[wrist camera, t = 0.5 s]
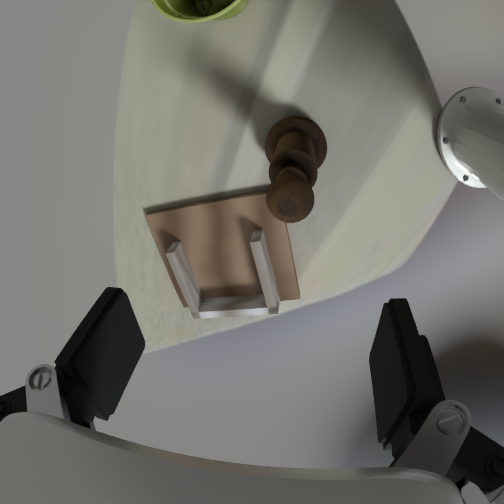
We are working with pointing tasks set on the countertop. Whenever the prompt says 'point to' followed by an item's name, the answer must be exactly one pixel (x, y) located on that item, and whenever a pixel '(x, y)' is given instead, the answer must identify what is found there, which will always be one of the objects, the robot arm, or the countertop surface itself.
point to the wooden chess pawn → (293, 167)
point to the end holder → (226, 256)
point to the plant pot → (198, 9)
